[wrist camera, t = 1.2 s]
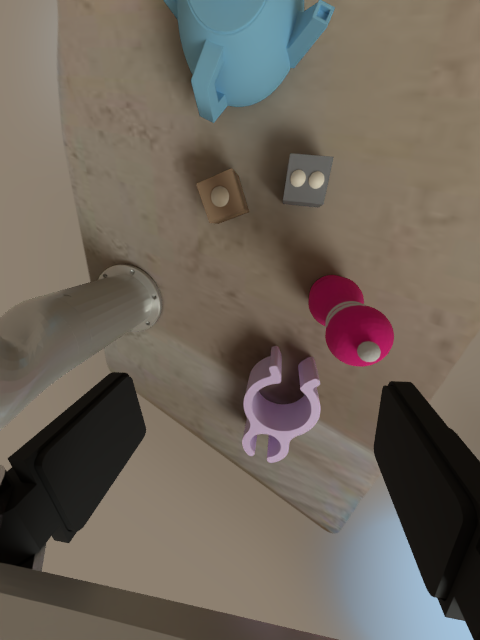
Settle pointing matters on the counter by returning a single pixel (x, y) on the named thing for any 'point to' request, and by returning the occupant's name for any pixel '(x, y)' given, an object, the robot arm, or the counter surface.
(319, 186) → the charcoal block
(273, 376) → the clip
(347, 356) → the pepper mill
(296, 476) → the counter surface
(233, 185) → the walnut block
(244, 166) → the counter surface
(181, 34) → the teapot
